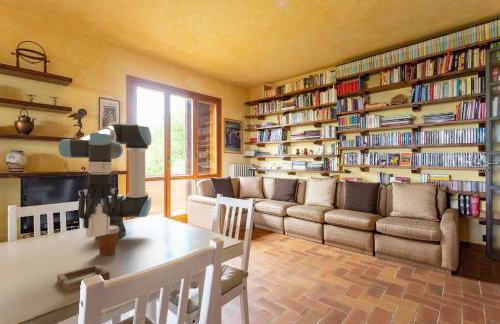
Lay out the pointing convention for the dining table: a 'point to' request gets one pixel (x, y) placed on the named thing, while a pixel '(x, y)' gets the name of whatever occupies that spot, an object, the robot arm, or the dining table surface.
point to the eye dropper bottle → (98, 222)
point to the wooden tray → (80, 277)
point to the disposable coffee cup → (108, 241)
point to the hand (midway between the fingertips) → (97, 234)
